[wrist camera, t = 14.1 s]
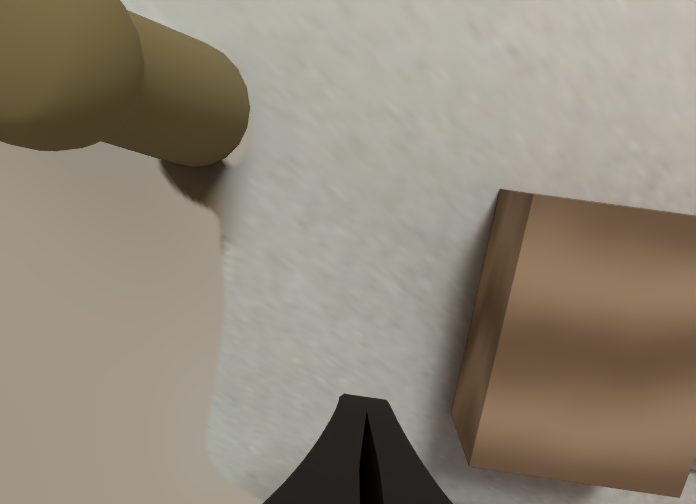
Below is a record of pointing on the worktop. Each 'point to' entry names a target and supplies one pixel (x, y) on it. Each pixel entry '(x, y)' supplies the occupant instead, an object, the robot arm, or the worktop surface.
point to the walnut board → (583, 346)
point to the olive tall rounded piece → (114, 83)
